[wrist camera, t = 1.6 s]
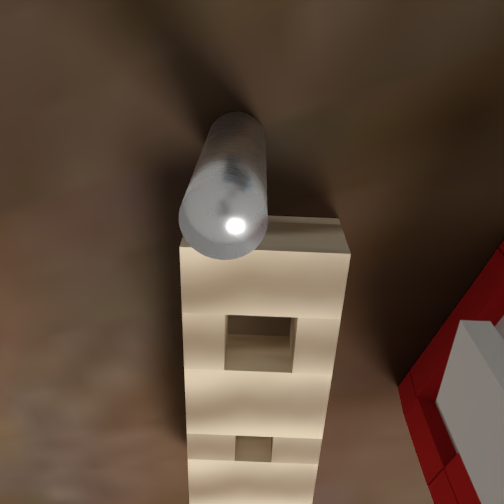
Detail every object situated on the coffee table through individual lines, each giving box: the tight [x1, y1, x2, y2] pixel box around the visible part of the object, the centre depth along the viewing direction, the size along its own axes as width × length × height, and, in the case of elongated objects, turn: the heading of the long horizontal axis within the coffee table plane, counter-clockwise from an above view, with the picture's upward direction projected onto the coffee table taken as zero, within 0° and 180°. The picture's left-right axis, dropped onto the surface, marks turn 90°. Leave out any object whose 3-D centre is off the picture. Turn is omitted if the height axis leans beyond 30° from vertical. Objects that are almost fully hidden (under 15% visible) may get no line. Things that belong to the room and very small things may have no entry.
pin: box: [179, 111, 268, 260], centre depth 25 cm, size 4×4×12 cm
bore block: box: [179, 216, 351, 504], centre depth 36 cm, size 24×10×5 cm, turn 178°
